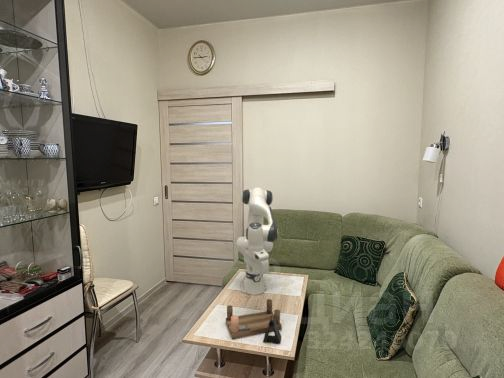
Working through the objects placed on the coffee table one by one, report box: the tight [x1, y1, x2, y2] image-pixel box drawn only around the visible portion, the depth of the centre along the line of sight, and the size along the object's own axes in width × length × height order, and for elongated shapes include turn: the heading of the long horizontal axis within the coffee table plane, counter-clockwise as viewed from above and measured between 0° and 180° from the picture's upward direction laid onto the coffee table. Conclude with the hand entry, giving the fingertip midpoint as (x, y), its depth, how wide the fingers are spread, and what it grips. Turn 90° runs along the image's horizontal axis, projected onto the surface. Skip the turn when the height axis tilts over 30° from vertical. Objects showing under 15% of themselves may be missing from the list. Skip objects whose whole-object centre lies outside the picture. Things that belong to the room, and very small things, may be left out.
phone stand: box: [262, 316, 282, 345], centre depth 158 cm, size 9×6×12 cm, turn 79°
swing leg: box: [231, 314, 250, 333], centre depth 162 cm, size 10×4×8 cm, turn 105°
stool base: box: [225, 299, 283, 340], centre depth 171 cm, size 16×28×10 cm, turn 107°
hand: (255, 274), depth 174 cm, fingers open, 8 cm apart
